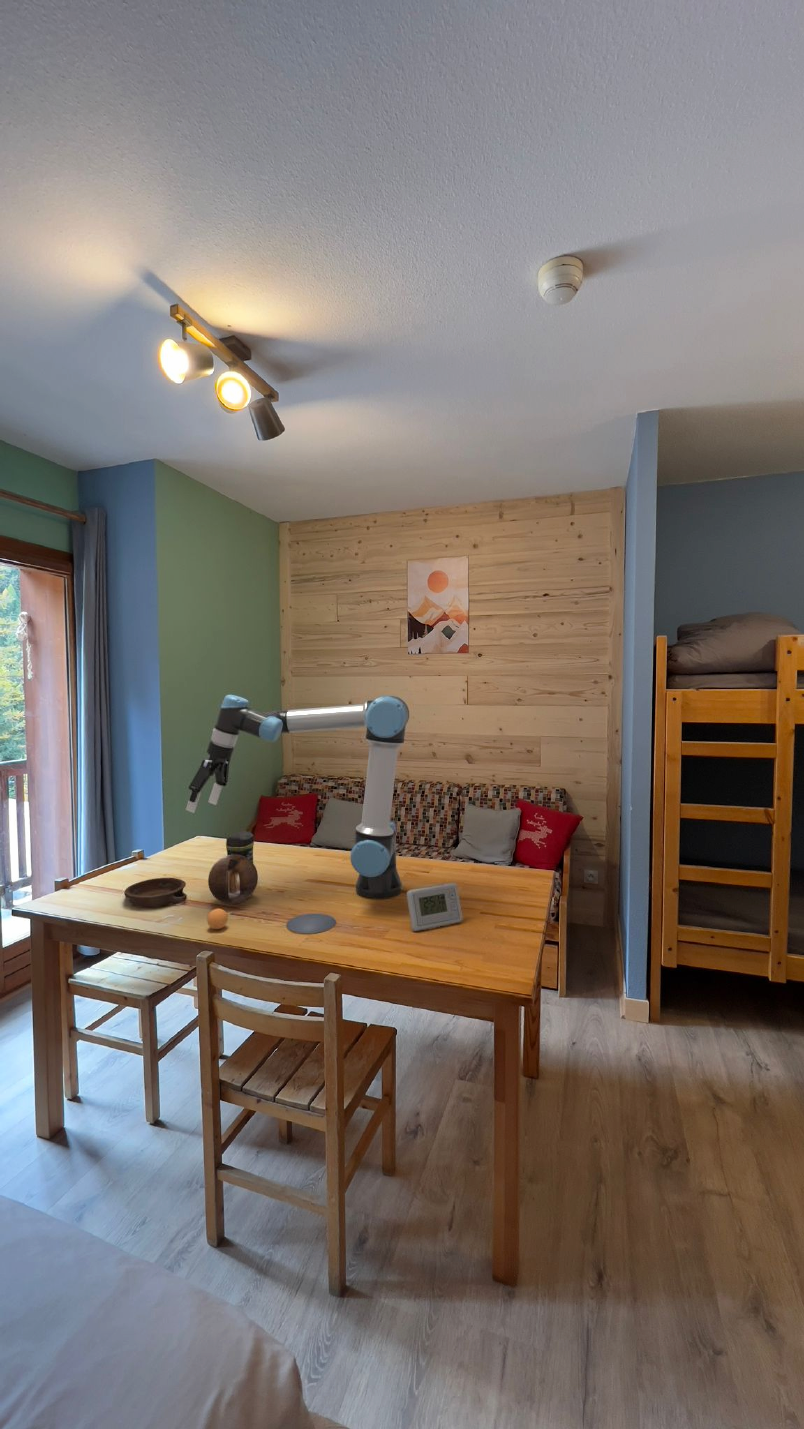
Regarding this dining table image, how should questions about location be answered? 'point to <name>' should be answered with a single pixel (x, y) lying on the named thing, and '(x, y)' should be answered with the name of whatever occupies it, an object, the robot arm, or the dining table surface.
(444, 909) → the digital clock
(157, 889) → the dish
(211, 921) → the ball
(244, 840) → the coffee jar
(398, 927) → the dining table surface
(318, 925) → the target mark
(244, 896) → the wooden sphere
